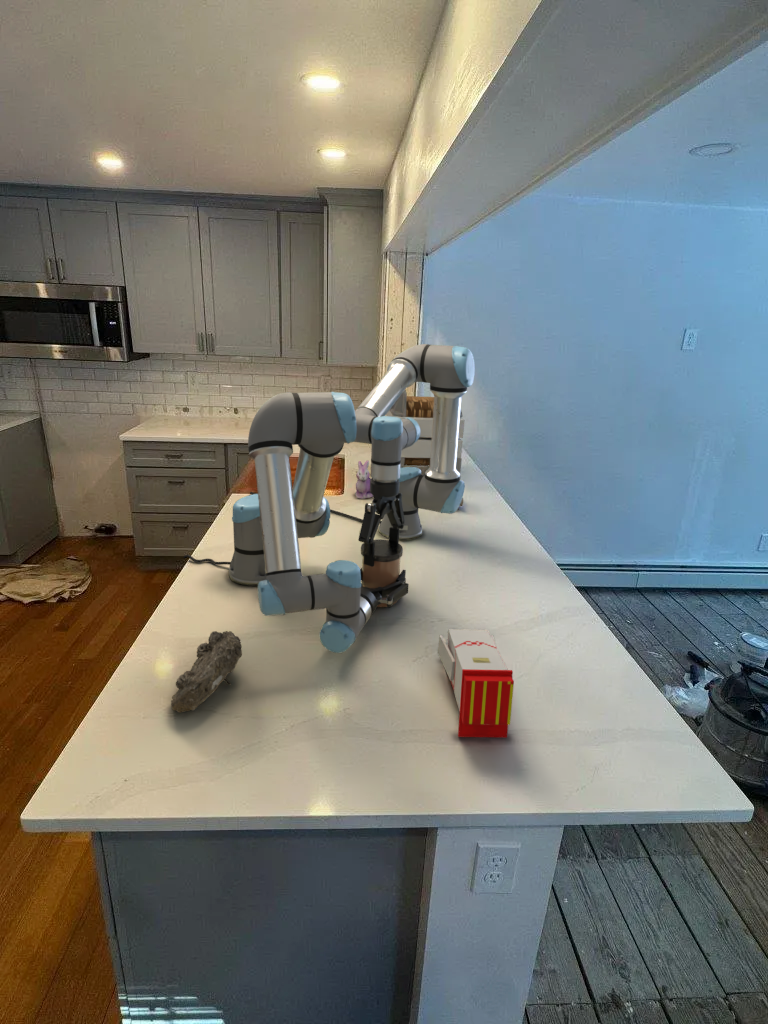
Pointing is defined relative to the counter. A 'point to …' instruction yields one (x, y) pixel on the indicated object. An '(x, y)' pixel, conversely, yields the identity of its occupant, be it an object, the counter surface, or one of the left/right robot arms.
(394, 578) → the jar
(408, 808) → the counter surface
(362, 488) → the figurine
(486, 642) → the toy
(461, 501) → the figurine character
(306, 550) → the counter surface
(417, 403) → the white crate
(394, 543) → the lid
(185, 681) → the fossil
